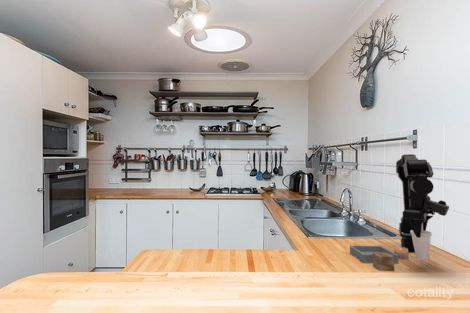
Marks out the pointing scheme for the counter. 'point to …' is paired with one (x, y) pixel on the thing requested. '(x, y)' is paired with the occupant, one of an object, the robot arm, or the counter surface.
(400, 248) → the brown short cylinder
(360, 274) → the counter surface
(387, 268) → the walnut block
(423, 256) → the smoothie
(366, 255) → the tray
